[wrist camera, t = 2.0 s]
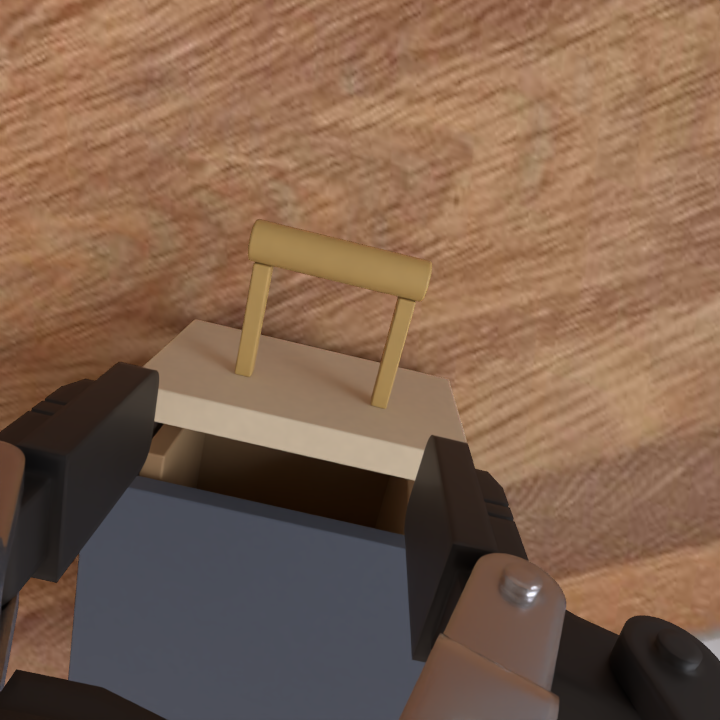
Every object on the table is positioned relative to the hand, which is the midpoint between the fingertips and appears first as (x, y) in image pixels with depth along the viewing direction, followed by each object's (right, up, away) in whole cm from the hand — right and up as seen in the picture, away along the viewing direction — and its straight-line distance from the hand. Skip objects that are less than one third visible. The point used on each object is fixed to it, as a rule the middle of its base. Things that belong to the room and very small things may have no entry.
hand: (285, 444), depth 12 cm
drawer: (-1, -1, +15) cm, 15 cm away
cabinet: (-2, -7, +18) cm, 20 cm away
